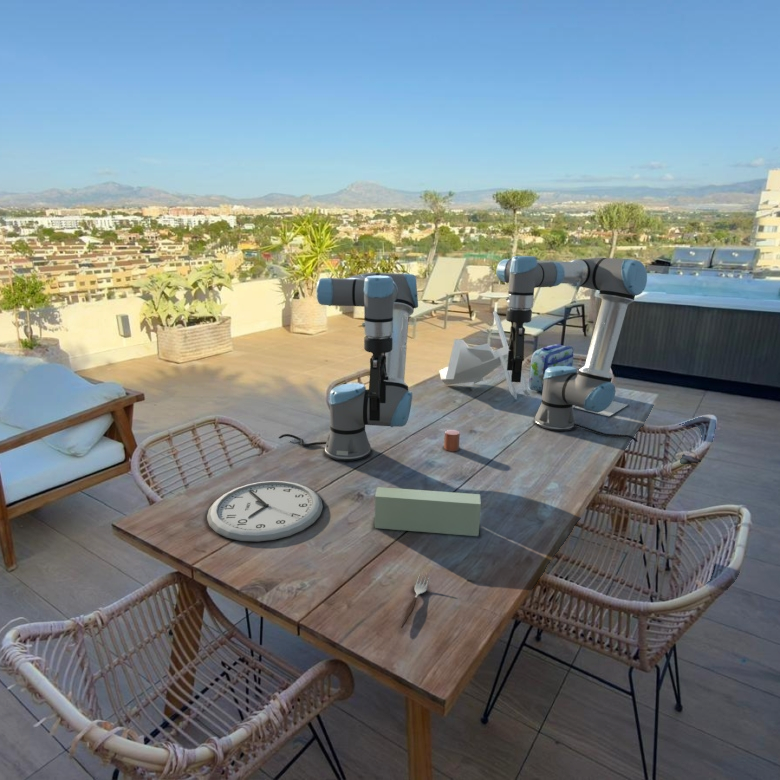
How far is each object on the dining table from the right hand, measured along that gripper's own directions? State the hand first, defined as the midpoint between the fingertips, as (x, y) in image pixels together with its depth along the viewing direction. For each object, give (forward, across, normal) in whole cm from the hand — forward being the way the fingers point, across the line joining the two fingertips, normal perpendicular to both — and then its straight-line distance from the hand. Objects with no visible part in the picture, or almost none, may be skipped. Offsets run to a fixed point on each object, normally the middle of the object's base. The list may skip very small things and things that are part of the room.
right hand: (513, 375), depth 165 cm
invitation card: (+29, -61, +46) cm, 82 cm away
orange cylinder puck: (+29, -6, -18) cm, 34 cm away
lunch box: (+29, -84, +28) cm, 93 cm away
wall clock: (+29, +43, -67) cm, 85 cm away
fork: (+29, +74, -25) cm, 83 cm away
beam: (+29, +45, -24) cm, 59 cm away
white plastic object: (+29, -73, -6) cm, 79 cm away
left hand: (+4, +27, -39) cm, 48 cm away
